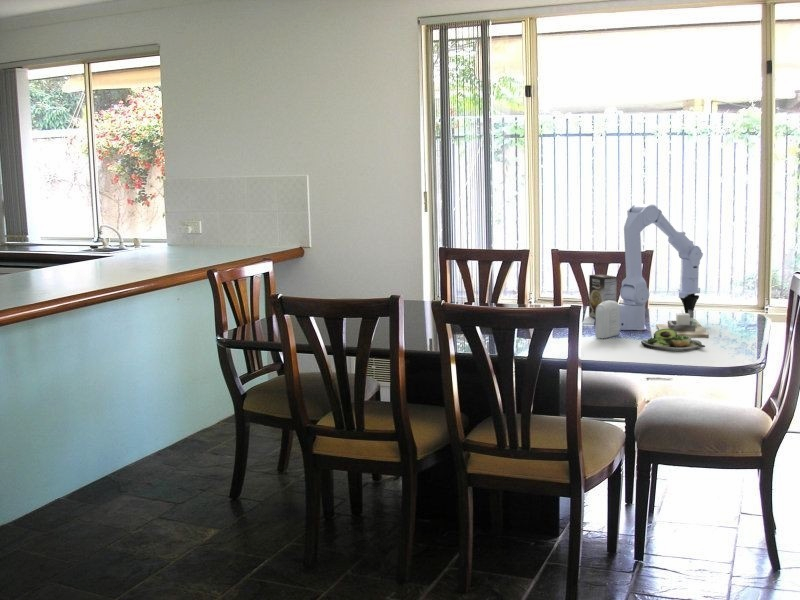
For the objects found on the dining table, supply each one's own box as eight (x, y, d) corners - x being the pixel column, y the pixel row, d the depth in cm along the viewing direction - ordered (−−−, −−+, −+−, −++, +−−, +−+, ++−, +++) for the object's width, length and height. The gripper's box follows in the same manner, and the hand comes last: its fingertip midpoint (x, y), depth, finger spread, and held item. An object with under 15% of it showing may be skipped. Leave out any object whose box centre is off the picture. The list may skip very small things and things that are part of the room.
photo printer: (610, 333, 302) (610, 298, 300) (621, 335, 299) (621, 299, 297) (593, 338, 295) (593, 302, 293) (604, 339, 292) (604, 303, 290)
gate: (693, 327, 302) (693, 316, 302) (687, 320, 316) (688, 309, 315) (697, 327, 302) (697, 316, 301) (691, 320, 316) (691, 309, 315)
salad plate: (719, 347, 277) (719, 333, 276) (685, 356, 267) (686, 341, 266) (667, 339, 292) (668, 325, 292) (634, 346, 282) (634, 332, 281)
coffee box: (588, 316, 336) (588, 274, 334) (601, 314, 339) (602, 273, 336) (603, 319, 328) (603, 277, 325) (616, 318, 330) (617, 276, 328)
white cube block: (677, 329, 301) (677, 315, 300) (676, 327, 305) (676, 313, 304) (689, 329, 300) (689, 315, 300) (687, 327, 304) (688, 313, 303)
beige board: (662, 337, 294) (662, 328, 294) (652, 320, 323) (653, 312, 323) (708, 337, 291) (708, 328, 291) (695, 321, 320) (695, 313, 320)
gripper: (687, 275, 323) (686, 311, 325) (670, 279, 312) (670, 316, 314) (706, 276, 318) (705, 312, 321) (690, 281, 308) (689, 318, 310)
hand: (689, 315), depth 317 cm, fingers closed
